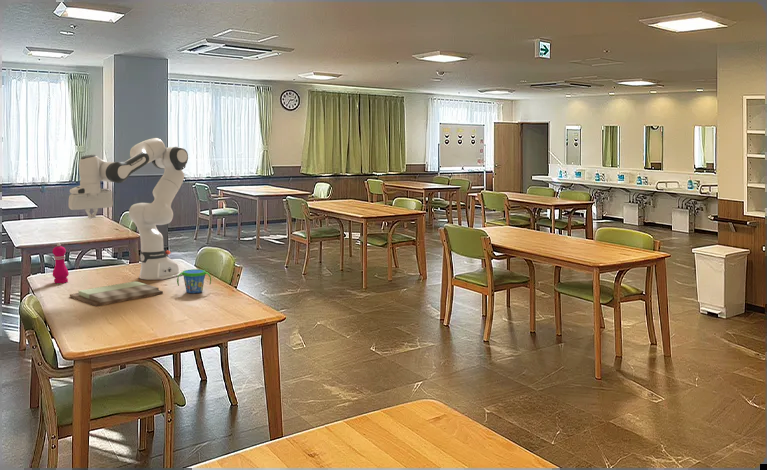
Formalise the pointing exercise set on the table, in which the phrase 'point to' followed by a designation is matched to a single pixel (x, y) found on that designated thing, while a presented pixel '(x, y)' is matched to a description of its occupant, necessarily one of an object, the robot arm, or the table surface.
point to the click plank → (109, 288)
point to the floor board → (119, 295)
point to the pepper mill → (60, 265)
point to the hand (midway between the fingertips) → (92, 218)
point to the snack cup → (194, 280)
